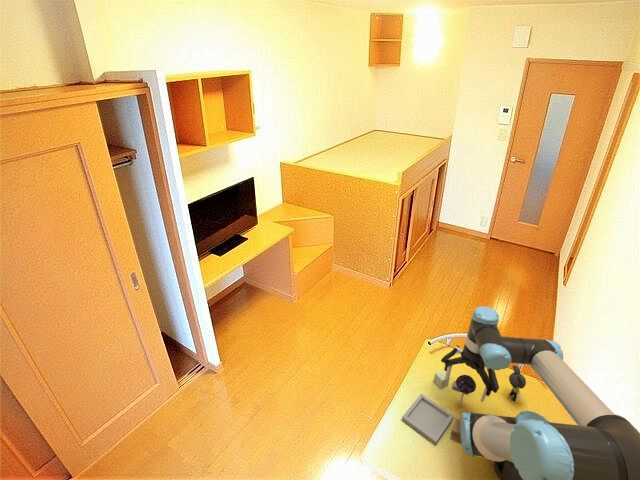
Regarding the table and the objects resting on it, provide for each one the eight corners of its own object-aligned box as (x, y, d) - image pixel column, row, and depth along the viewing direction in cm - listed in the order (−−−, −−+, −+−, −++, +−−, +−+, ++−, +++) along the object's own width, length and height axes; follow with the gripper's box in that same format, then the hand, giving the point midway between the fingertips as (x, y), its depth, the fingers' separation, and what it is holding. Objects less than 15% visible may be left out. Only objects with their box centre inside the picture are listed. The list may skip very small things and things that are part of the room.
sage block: (447, 385, 141) (449, 376, 139) (440, 389, 140) (442, 380, 137) (440, 378, 144) (442, 369, 142) (433, 381, 143) (435, 373, 140)
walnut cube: (467, 433, 124) (470, 424, 121) (464, 445, 120) (467, 436, 117) (452, 426, 126) (455, 418, 123) (449, 438, 122) (452, 430, 119)
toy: (522, 408, 132) (534, 381, 124) (508, 408, 132) (518, 381, 125) (512, 389, 139) (522, 363, 132) (498, 389, 139) (508, 362, 132)
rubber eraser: (468, 389, 140) (469, 386, 139) (467, 395, 137) (468, 392, 136) (453, 383, 142) (453, 380, 141) (451, 389, 140) (452, 386, 139)
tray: (453, 419, 128) (454, 415, 127) (435, 445, 120) (436, 441, 119) (420, 397, 136) (421, 393, 135) (401, 420, 128) (402, 416, 127)
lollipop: (466, 397, 136) (474, 371, 129) (471, 413, 130) (480, 386, 123) (448, 396, 137) (455, 369, 129) (452, 412, 131) (460, 385, 123)
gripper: (519, 360, 113) (503, 402, 124) (447, 323, 128) (438, 363, 139) (511, 374, 109) (495, 416, 119) (437, 334, 124) (428, 374, 134)
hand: (464, 388), depth 129 cm, fingers open, 13 cm apart
